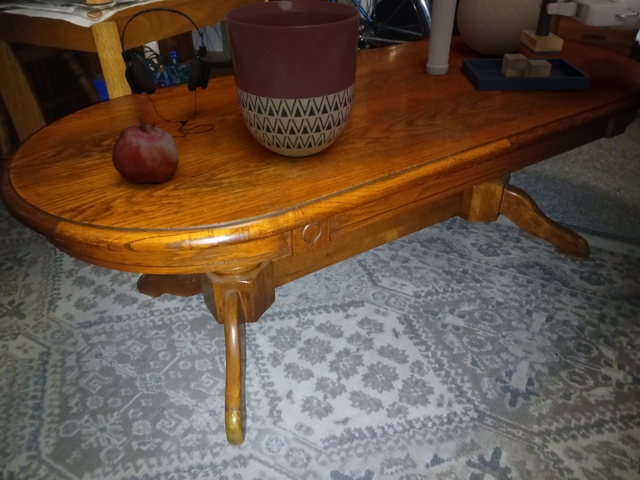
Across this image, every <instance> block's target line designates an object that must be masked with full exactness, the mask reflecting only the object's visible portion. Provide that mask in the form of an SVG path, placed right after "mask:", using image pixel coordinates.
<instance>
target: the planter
mask: <svg viewBox="0 0 640 480" xmlns="http://www.w3.org/2000/svg"><path fill="white" fill-rule="evenodd" d="M224 22H225V23H224V24H225V29H226V36H227V41H228V48H229V52H230V53H229V54H230V59H231V65H232V72H233V78H234V84H235V90H236V96H237V101H238V105H239V110H240V112H241V115H242V119H243V121H244V123H245V125H246V127H247V129H248V131H249V133H251V135H252V137H254V139H255V140H256V141H257V142H258V143H260V144H261V145H262V146H264V147H265V148H266V149H268V150H269V151H271V152H273V153H276V154H277V155H281V156H284V157H293V158H294V157H295V158H296V157H297V158H298V157H306V156H312V155H315V154H318V153H320V152H323V151H324V150H326V149H327V148H328V147H330V146H331V145H332V144H333V143H334V142H336V141H337V140H338V138H340V136H341V135H342V133H343V132H344V130H345V129H346V127H347V125H348V123H349V120H350V117H351V114H352V110H353V106H354V99H355V89H356V88H355V87H356V78H357V64H358V50H359V40H360V39H359V38H360V30H361V29H360V27H361V11H360V9H359V8H358V7H356V6H353V5H351V4H347V3H342V2H336V1H327V0H273V1H272V0H271V1H261V2H255V3H250V4H249V3H248V4H244V5H240V6H236V7H233V8H231V9H229V10H228V11H226V13H224Z"/></svg>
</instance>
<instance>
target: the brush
mask: <svg viewBox="0 0 640 480" xmlns="http://www.w3.org/2000/svg"><path fill="white" fill-rule="evenodd" d="M549 2H551V3H552V2H557V0H542V3H541V8H540V13H539V18H538V22H537V27H536V30H522V32H521V37H520V41H521V45H522V46H521V47H523V48H524V49H526V50H527V51H528V52H530V53H531V54H533V55H534V56H559V54H560V52H561V51H562V48H563V44H564V39H562V38H561V37H560V36H557V35H556V34H555V33H552V32H551V28H552V23H553V20H554V15H555V14H548V13H547V12H546V11H545V9H546V5H547V3H549Z"/></svg>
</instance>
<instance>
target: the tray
mask: <svg viewBox="0 0 640 480" xmlns="http://www.w3.org/2000/svg"><path fill="white" fill-rule="evenodd" d="M526 58H527V60H546V61H547V62H549V63H550V64H551V70H550V74H549V77H506V76H505V75H504V74H503V73H502V72H501V69H502V64H503V58H462V61H461V68H460V70H461V71H462V72H463V74H464V76H465V77H466V78H467V79H468V81H469V82H470V83H471V84H472V86H473V87H474V88H475V89H476V91H477V92H479V91H480V92H481V91H484V92H485V91H554V90H555V91H556V90H557V91H558V90H559V91H560V90H589V87H590V85H591V81H592V76H590V75H588V74H587V73H586V72H584V71H583V70H582V69H580V68H578V67H577V66H576V65H574V64H573V63H571V62H570V61H568V60H567V59H566V58H564V57H526Z"/></svg>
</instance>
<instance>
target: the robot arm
mask: <svg viewBox="0 0 640 480" xmlns="http://www.w3.org/2000/svg"><path fill="white" fill-rule="evenodd" d="M541 3H542V0H540V2H539V8H541ZM545 11H546V12H547V13H548V14H554V15H560V16H566V17H569V18H571V19H573V20H575V22H577V23H580V24H582V25H583V26H586V27H590V28H597V27H599V29H600V30H602V31H632V30H636V29H640V0H557V2H552V3H551V2H549V3H547V5H546V9H545Z"/></svg>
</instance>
